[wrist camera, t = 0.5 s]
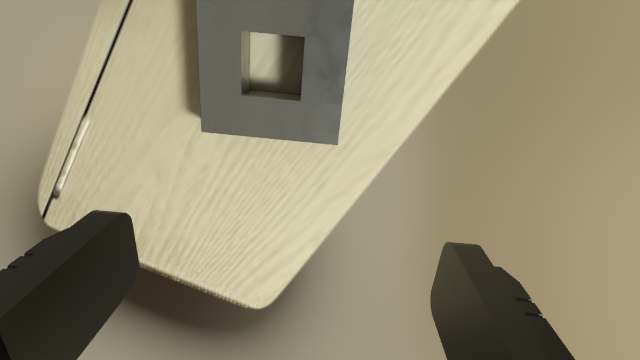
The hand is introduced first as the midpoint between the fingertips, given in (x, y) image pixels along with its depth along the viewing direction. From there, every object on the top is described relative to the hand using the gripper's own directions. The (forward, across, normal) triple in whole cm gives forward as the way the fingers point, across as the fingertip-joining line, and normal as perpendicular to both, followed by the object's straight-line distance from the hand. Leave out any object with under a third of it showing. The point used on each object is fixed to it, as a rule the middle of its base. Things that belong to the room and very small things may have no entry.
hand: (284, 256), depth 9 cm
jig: (+25, +4, -2) cm, 25 cm away
